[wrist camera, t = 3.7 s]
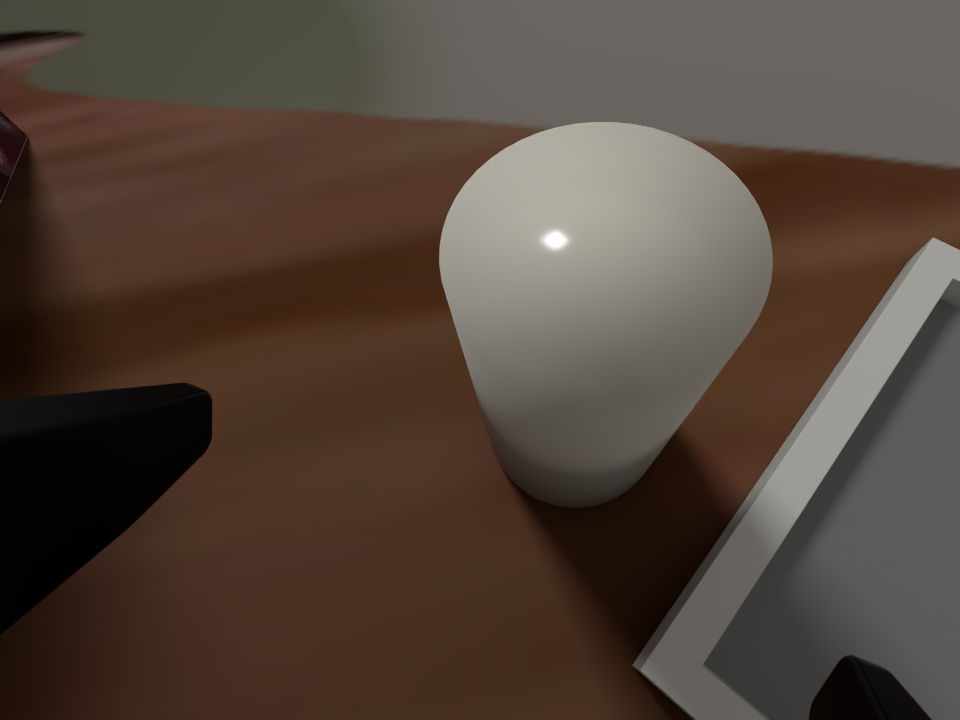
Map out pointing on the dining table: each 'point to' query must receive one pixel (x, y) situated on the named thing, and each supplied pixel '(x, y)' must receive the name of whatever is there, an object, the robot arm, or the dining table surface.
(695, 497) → the dining table surface
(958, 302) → the tray
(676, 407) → the grey rounded cylinder
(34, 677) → the dining table surface
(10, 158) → the juice carton
